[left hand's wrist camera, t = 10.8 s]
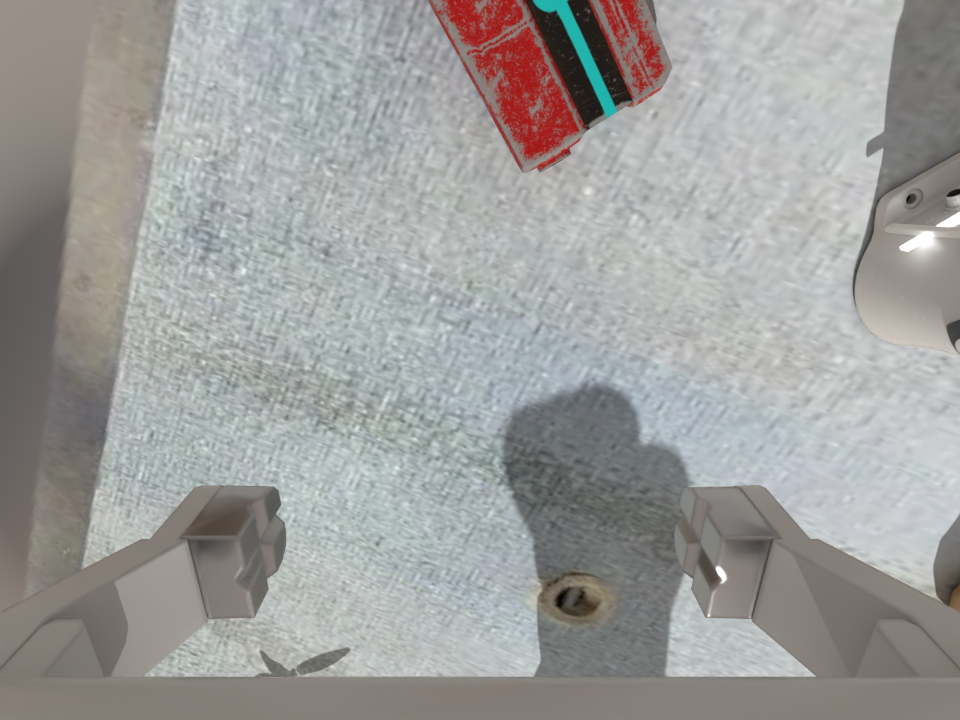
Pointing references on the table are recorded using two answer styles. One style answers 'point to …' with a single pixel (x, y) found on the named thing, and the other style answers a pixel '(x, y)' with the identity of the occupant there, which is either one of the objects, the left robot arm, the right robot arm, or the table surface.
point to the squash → (955, 599)
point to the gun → (555, 66)
